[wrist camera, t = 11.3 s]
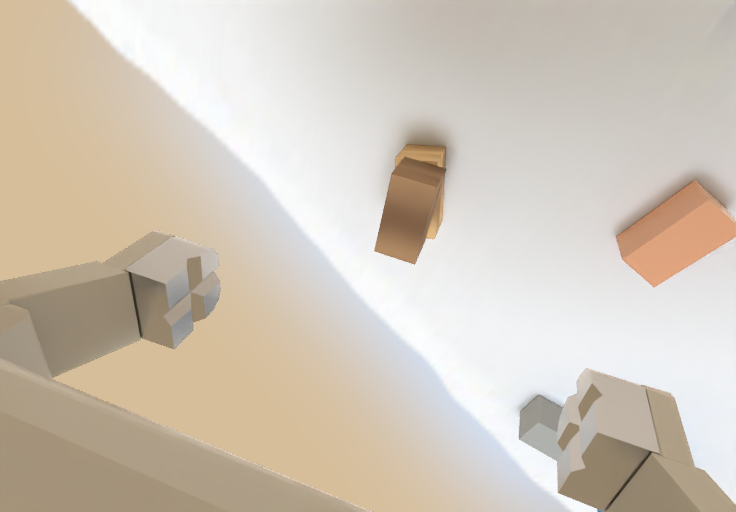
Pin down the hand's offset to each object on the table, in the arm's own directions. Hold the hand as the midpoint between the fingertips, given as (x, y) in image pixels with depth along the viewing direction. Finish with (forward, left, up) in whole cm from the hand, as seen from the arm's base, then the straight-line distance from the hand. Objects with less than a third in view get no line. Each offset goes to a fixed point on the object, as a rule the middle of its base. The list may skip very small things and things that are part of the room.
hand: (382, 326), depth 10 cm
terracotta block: (-16, +9, -32) cm, 37 cm away
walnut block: (+4, +11, -28) cm, 30 cm away
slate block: (-16, +34, -32) cm, 50 cm away
